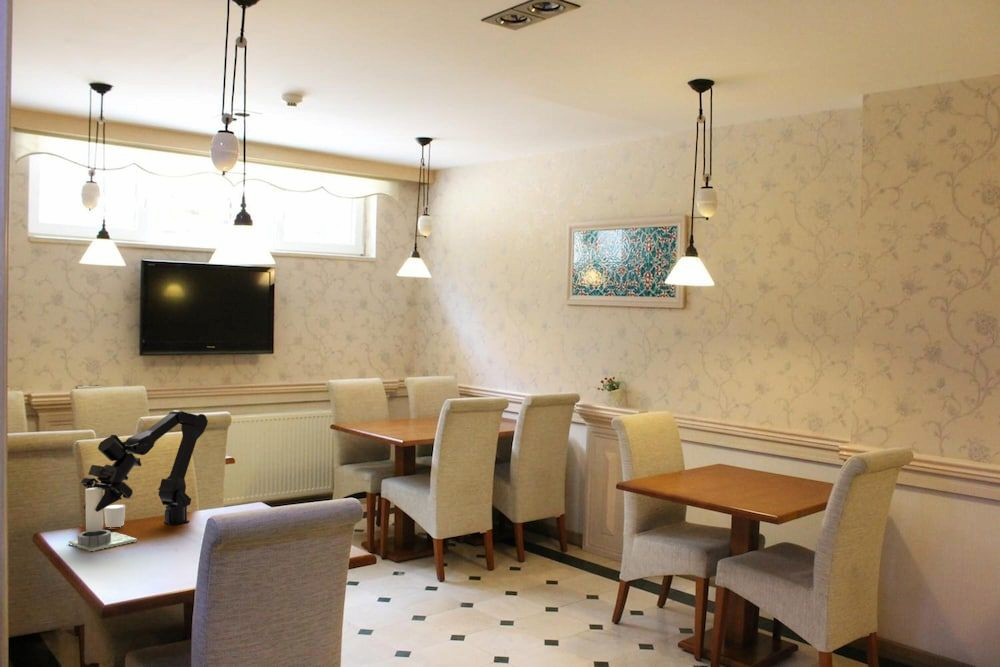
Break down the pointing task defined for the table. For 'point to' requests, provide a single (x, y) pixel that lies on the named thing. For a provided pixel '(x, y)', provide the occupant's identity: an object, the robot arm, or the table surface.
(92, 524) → the post
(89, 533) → the grey ring base plate
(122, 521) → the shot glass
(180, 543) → the table surface
